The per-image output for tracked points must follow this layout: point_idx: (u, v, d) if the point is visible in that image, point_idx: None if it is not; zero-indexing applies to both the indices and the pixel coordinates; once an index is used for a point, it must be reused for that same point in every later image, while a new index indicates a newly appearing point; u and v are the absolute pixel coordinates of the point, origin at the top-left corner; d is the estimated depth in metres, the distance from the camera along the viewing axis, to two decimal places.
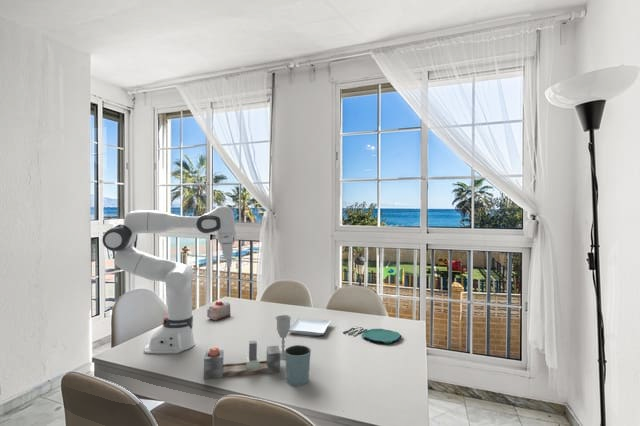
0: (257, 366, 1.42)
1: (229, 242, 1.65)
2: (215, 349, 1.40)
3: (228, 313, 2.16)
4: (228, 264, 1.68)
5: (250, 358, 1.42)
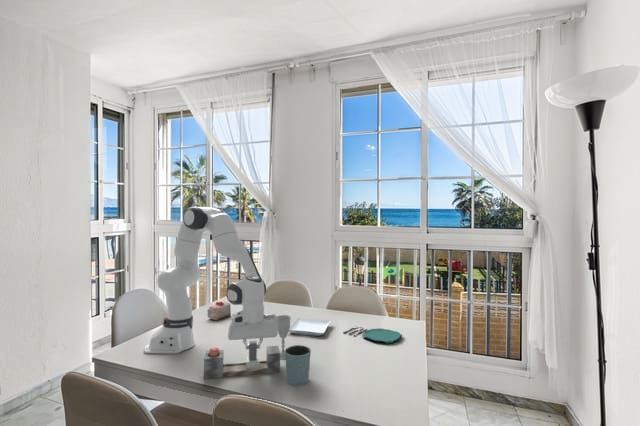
0: (257, 366, 1.42)
1: (232, 321, 1.40)
2: (215, 349, 1.40)
3: (228, 313, 2.16)
4: None
5: (250, 358, 1.42)
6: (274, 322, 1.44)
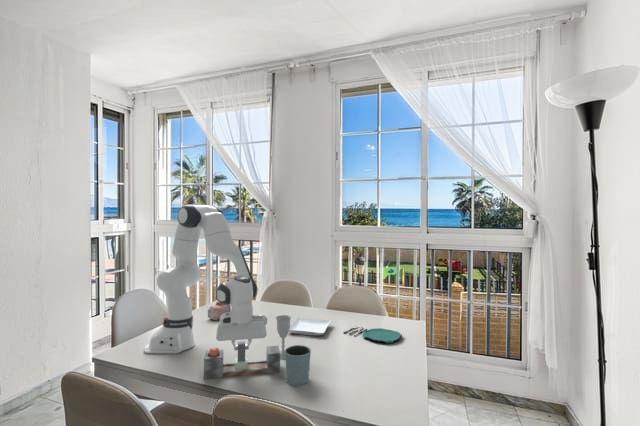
0: (245, 367, 1.40)
1: (220, 322, 1.39)
2: (215, 349, 1.40)
3: None
4: (234, 346, 1.42)
5: (238, 359, 1.41)
6: (263, 323, 1.43)
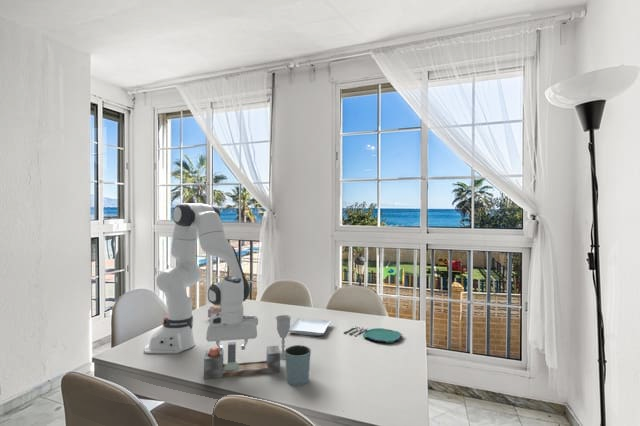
0: (236, 368, 1.40)
1: None
2: (215, 349, 1.40)
3: None
4: None
5: (229, 360, 1.40)
6: (253, 323, 1.42)
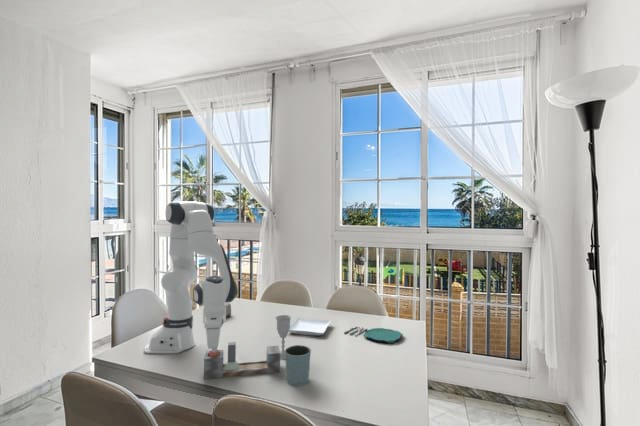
0: (236, 368, 1.40)
1: (216, 327, 1.32)
2: None
3: (229, 313, 2.16)
4: (213, 349, 1.39)
5: (229, 360, 1.40)
6: None
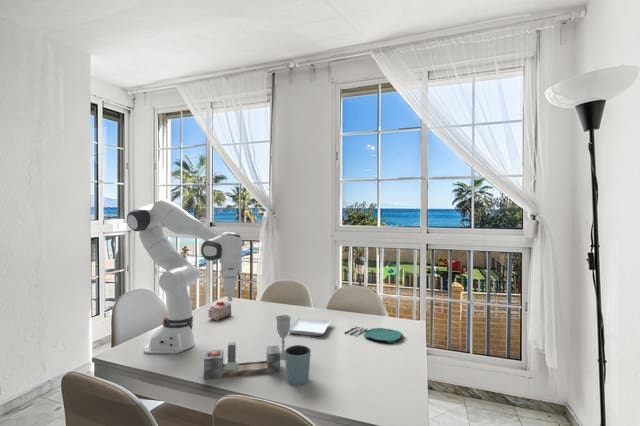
0: (236, 368, 1.40)
1: (233, 276, 1.43)
2: (215, 353, 1.40)
3: (229, 313, 2.16)
4: (229, 298, 1.50)
5: (229, 360, 1.40)
6: None
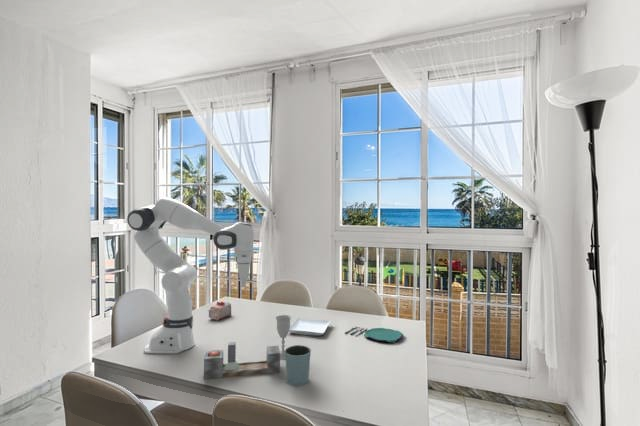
0: (236, 368, 1.40)
1: (247, 262, 1.53)
2: (215, 353, 1.40)
3: (229, 313, 2.16)
4: (243, 284, 1.60)
5: (229, 360, 1.40)
6: None
